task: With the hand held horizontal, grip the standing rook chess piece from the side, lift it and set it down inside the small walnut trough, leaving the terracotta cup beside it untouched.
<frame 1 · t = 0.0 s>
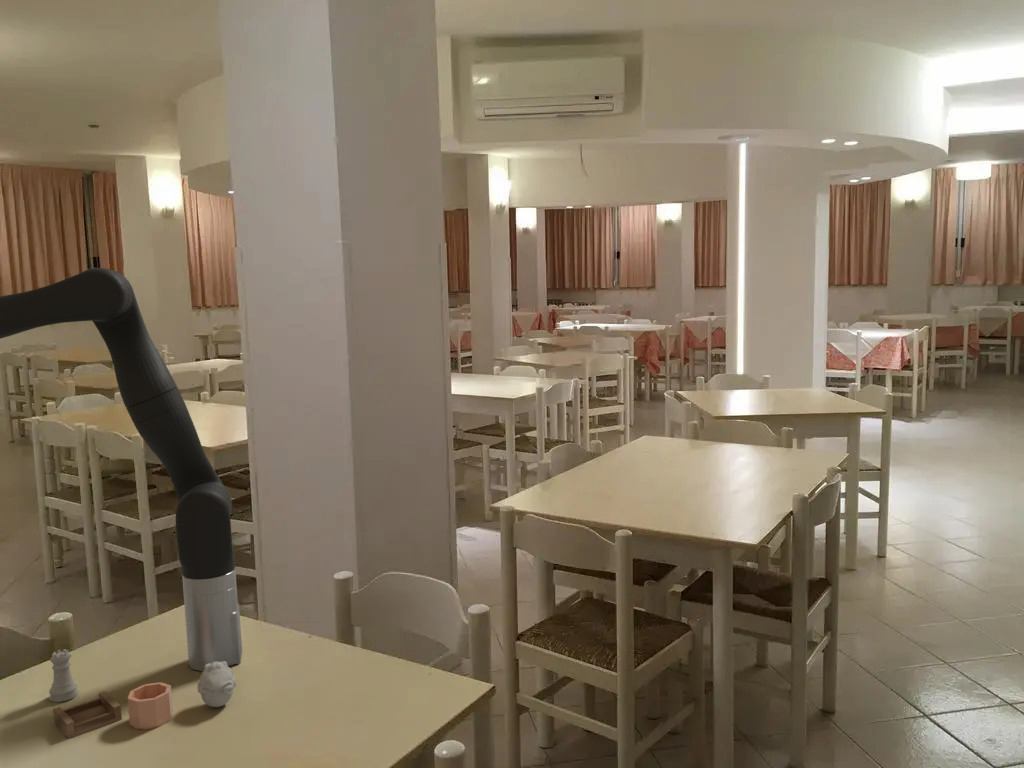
rook chess piece: (64, 698, 145), on the table
cup: (151, 720, 136), on the table
trough: (88, 721, 136), on the table
frog figurine: (218, 705, 140), on the table
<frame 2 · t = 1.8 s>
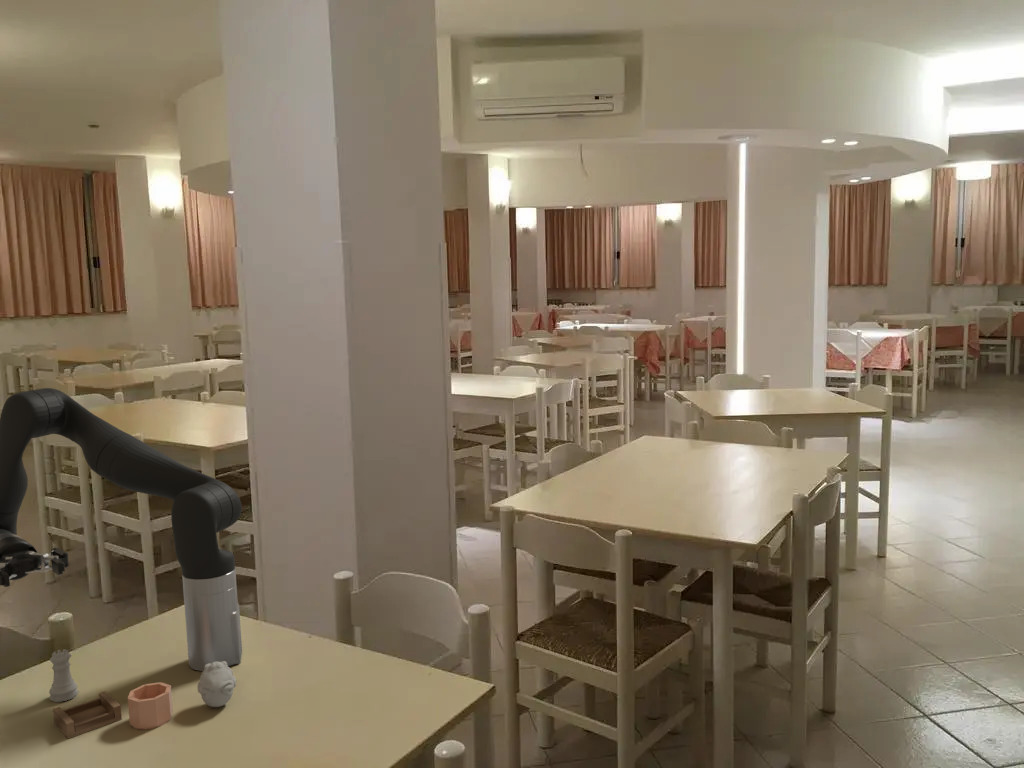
hand: (34, 575, 150), 19 cm above the table, tool horizontal, fingers open, 8 cm apart
nothing on the table moved.
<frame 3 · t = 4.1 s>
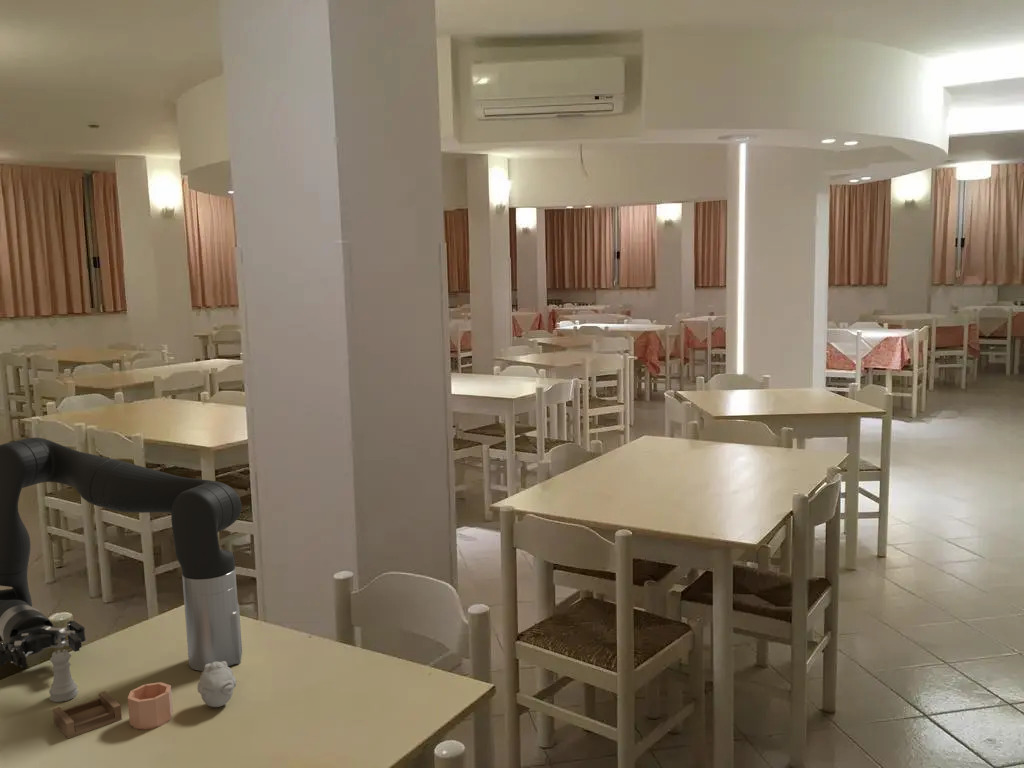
hand: (51, 653, 148), 6 cm above the table, tool horizontal, fingers open, 8 cm apart
nothing on the table moved.
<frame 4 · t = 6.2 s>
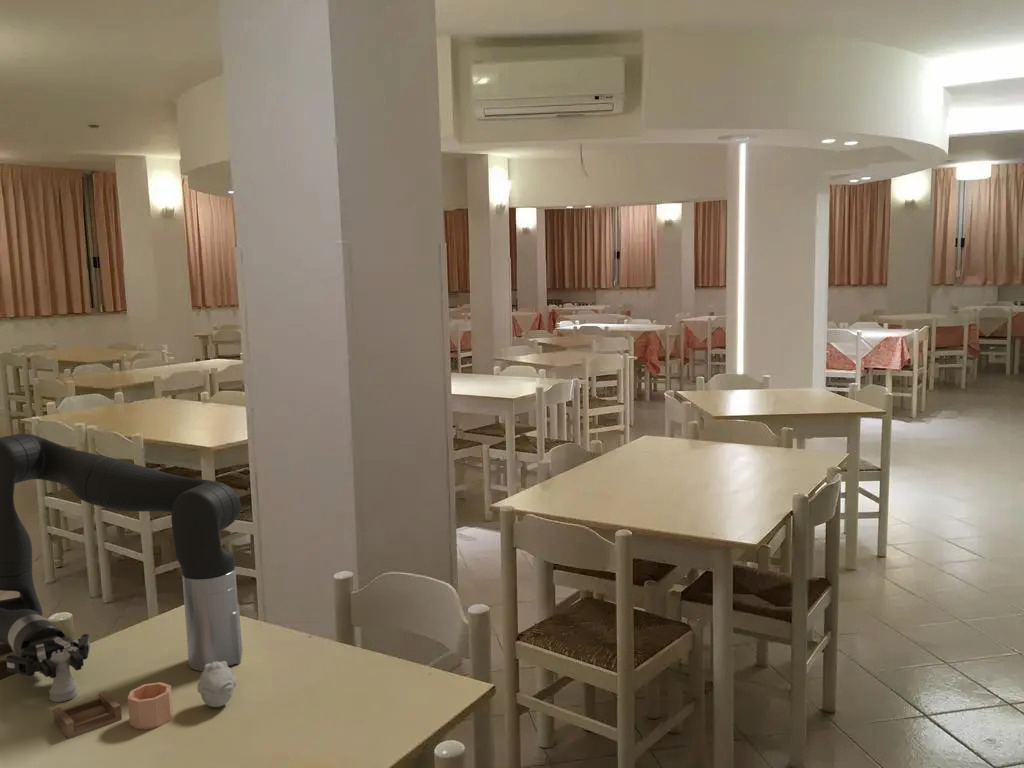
hand: (66, 668, 142), 6 cm above the table, tool horizontal, fingers closed on rook chess piece, 3 cm apart
rook chess piece: (64, 697, 145), on the table, touching gripper
everything else where it was.
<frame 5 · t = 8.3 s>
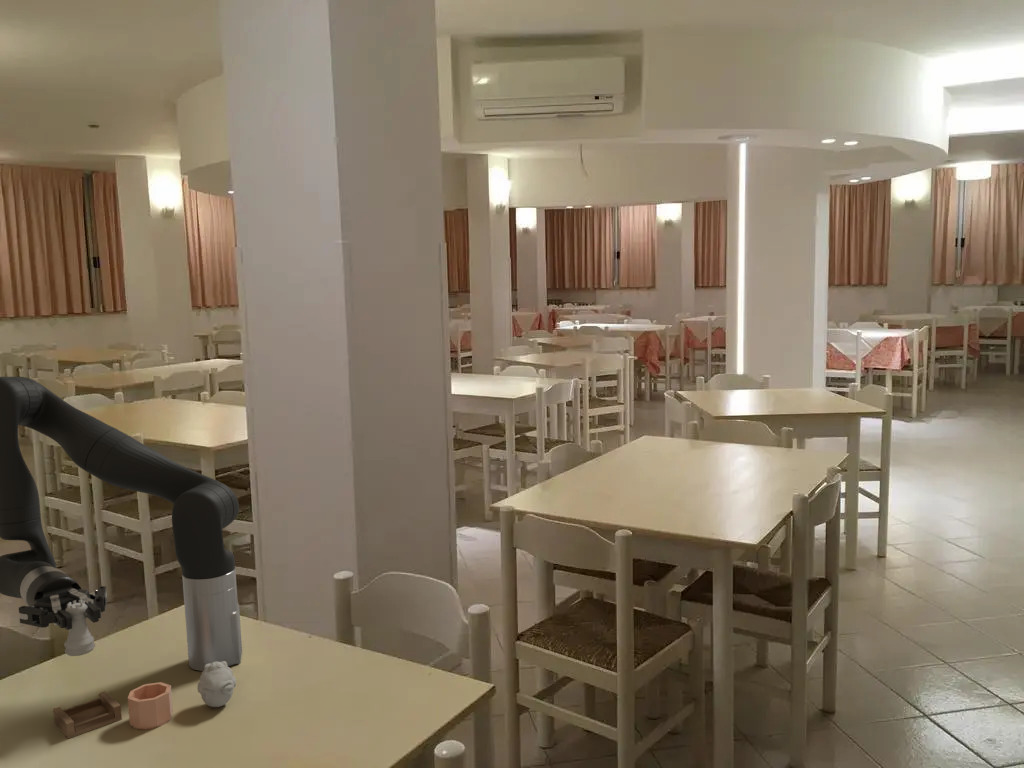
hand: (82, 619, 132), 18 cm above the table, tool horizontal, fingers closed on rook chess piece, 3 cm apart
rook chess piece: (80, 652, 135), point 12 cm above the table, touching gripper
everything else where it was.
when the fingers open (8 cm above the table, at t = 10.5 s): rook chess piece drops 1 cm, resting on trough.
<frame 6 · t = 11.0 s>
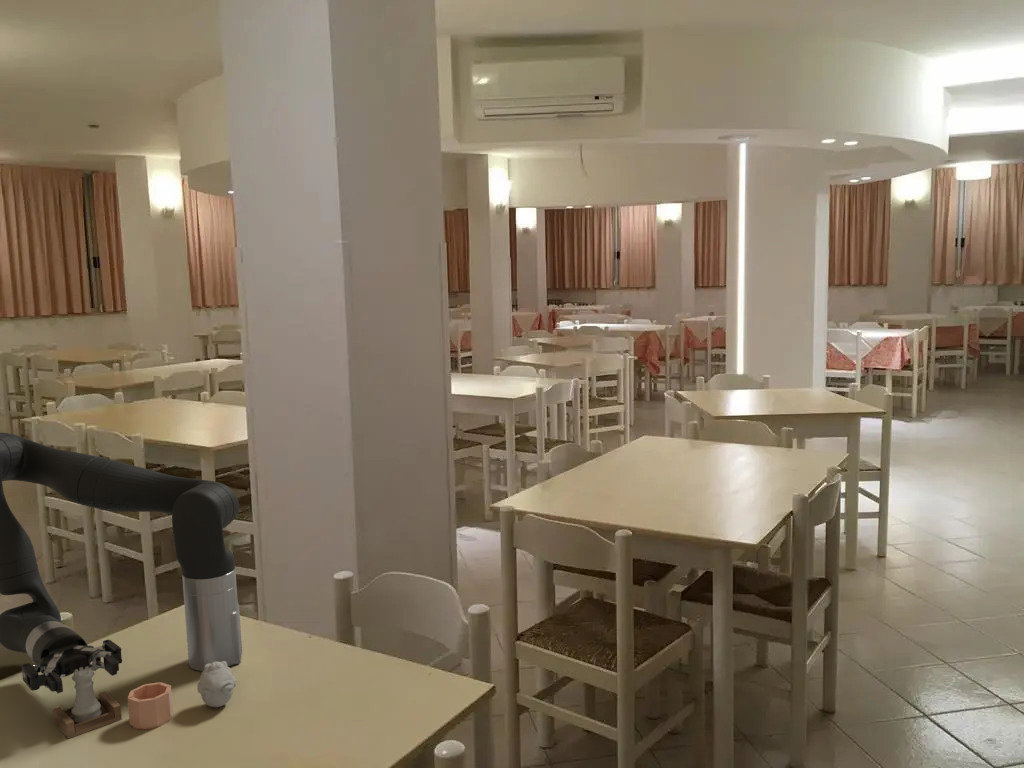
hand: (88, 677, 134), 8 cm above the table, tool horizontal, fingers open, 7 cm apart
rook chess piece: (87, 718, 136), resting on trough
everything else where it was.
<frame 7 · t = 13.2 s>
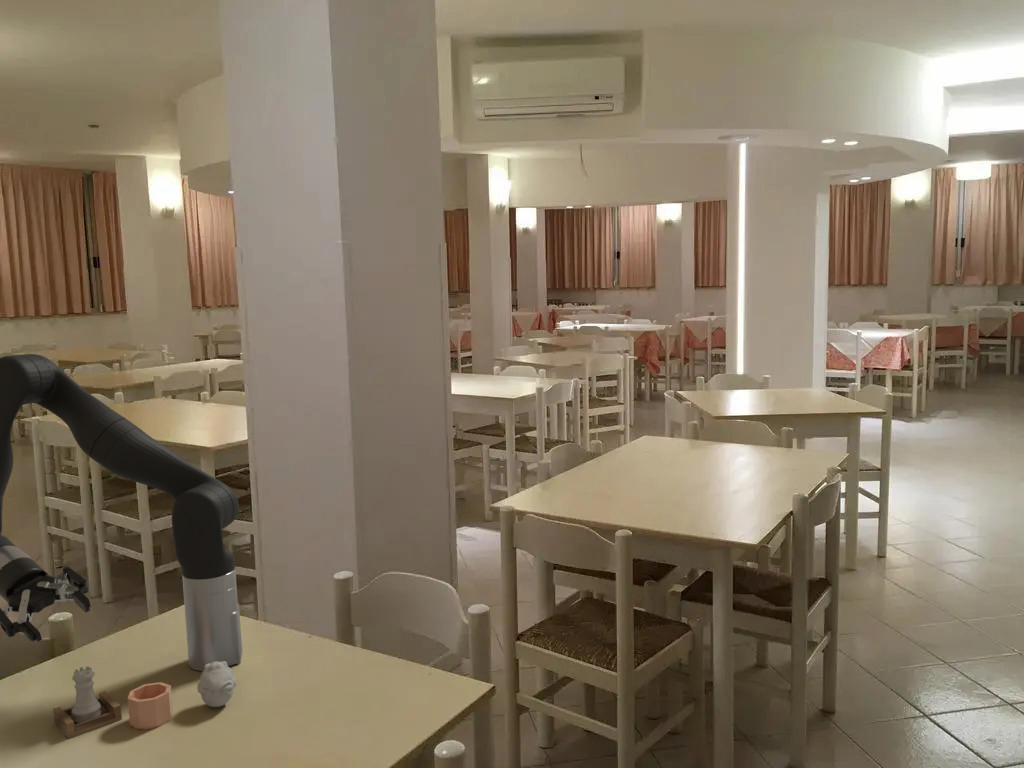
hand: (63, 622, 145), 13 cm above the table, tool tilted 70°, fingers open, 8 cm apart
nothing on the table moved.
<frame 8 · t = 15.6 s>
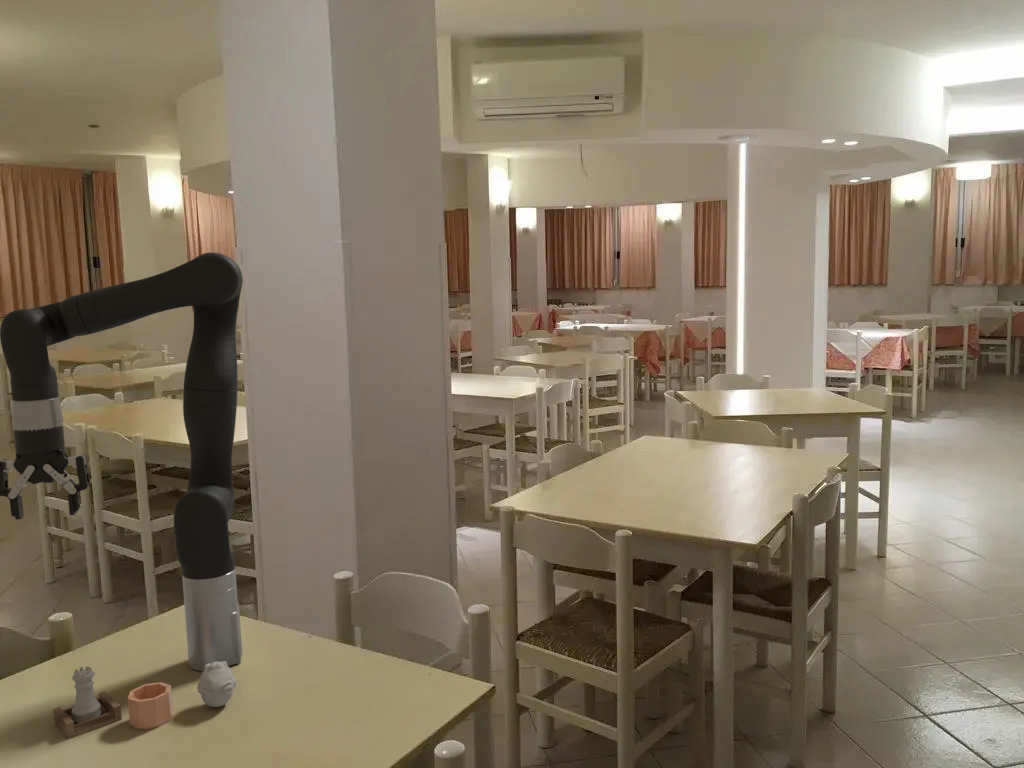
hand: (46, 516, 148), 30 cm above the table, tool pointing down, fingers open, 8 cm apart
nothing on the table moved.
at the end: rook chess piece 0.1 cm off-centre on the trough, point 0.4 cm above the trough's base; rook chess piece tilted 0°; the gripper is holding nothing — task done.
